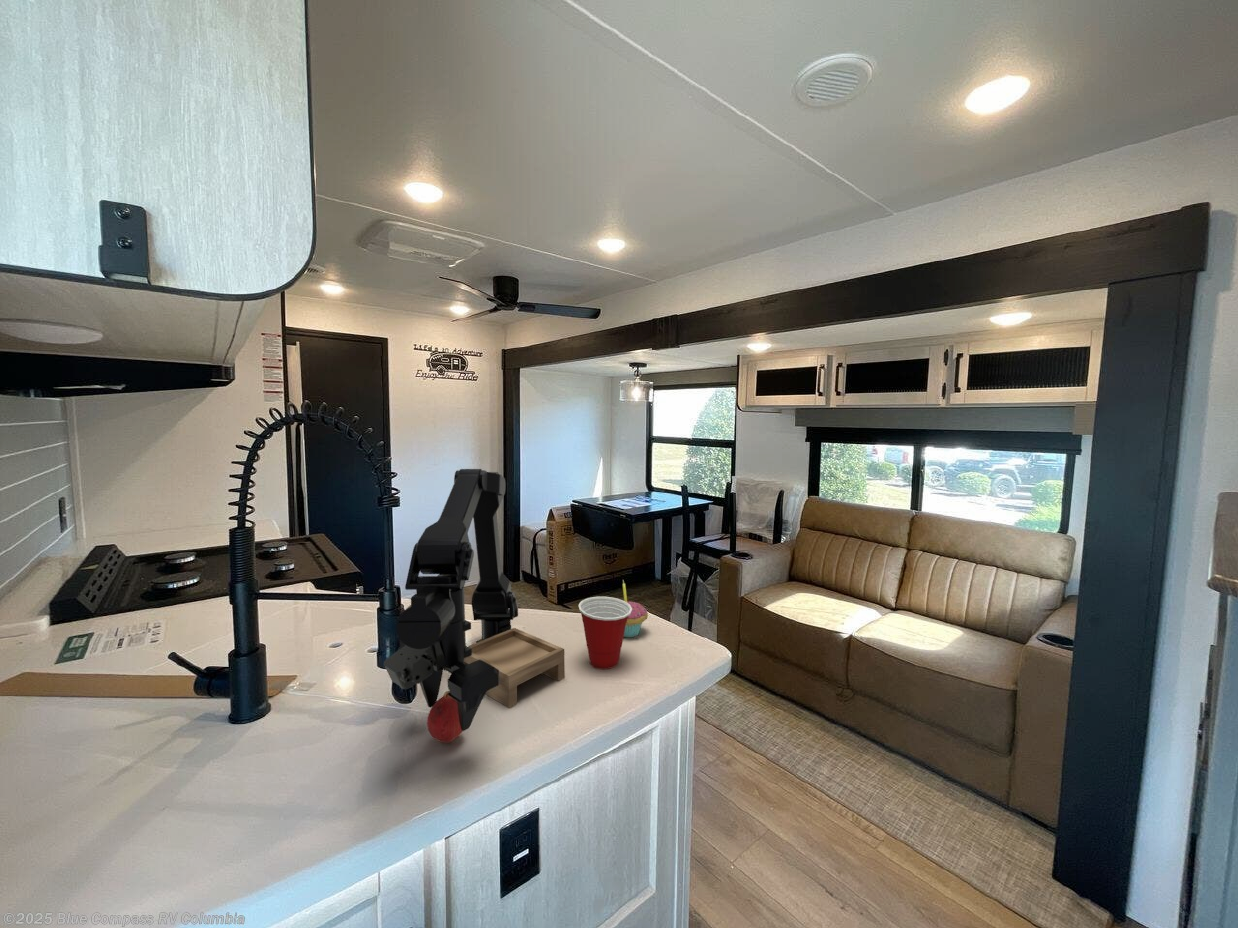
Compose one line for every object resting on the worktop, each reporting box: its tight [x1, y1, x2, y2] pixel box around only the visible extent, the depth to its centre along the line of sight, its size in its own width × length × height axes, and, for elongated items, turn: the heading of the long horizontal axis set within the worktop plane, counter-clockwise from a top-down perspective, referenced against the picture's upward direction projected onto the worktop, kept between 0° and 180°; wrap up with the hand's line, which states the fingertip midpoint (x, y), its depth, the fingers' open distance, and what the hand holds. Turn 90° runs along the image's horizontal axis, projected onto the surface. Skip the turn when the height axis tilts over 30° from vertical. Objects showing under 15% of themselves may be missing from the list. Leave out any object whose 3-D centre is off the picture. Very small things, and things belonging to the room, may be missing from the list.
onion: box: [426, 690, 464, 744], centre depth 75 cm, size 6×6×8 cm
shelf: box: [464, 627, 566, 709], centre depth 93 cm, size 15×13×6 cm
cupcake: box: [622, 579, 649, 638], centre depth 113 cm, size 9×8×12 cm
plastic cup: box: [578, 596, 632, 670], centre depth 99 cm, size 11×11×12 cm
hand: (448, 717), depth 75 cm, fingers open, 9 cm apart
